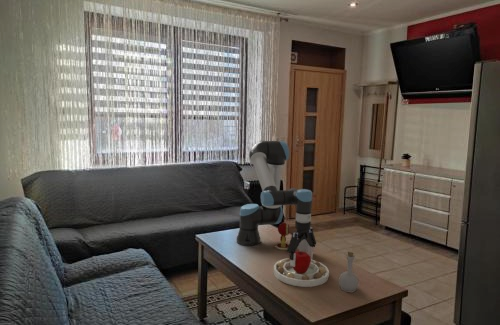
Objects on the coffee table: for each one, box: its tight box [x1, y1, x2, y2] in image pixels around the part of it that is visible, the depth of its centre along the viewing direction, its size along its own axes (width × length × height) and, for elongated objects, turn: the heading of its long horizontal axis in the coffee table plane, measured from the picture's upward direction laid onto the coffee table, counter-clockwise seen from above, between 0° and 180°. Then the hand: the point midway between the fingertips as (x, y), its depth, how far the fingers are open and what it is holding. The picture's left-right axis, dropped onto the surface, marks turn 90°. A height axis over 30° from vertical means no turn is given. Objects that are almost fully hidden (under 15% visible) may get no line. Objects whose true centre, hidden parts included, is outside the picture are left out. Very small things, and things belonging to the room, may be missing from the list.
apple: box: [293, 250, 311, 274], centre depth 173 cm, size 10×10×11 cm
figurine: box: [274, 222, 290, 251], centre depth 210 cm, size 9×10×15 cm
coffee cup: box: [297, 227, 313, 253], centre depth 202 cm, size 10×10×15 cm
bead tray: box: [273, 257, 330, 288], centre depth 174 cm, size 27×27×4 cm
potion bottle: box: [338, 251, 359, 293], centre depth 159 cm, size 9×9×18 cm
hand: (301, 262), depth 174 cm, fingers open, 13 cm apart
